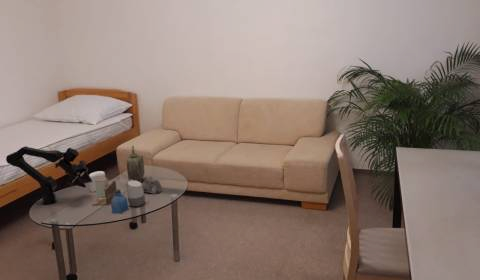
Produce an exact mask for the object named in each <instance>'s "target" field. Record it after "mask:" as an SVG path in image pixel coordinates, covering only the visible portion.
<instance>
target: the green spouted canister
mask: <svg viewBox="0 0 480 280" xmlns="http://www.w3.org/2000/svg"><path fill="white" fill-rule="evenodd" d="M131 152H132V153H131ZM131 152H130V154H129V155H128V156H127V158H126V163H125V164H126V173H127V178H128V180H129V181H132V180H134V181H136V180H142V178H143V177H144V176H145V163H144V157H143V156H142V155H140V154H138V153H136V152H135V146H134V145H132V146H131Z"/></svg>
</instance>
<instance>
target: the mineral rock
mask: <svg viewBox="0 0 480 280" xmlns="http://www.w3.org/2000/svg"><path fill="white" fill-rule="evenodd" d="M141 184H142V188H143V192H144V193H150V194H154V195H157V194H159V193H161V192H162V191H163V189H162V185H161V183H160V181H159V180H158V179H157V178H154V177H153V176H149V177H148V178H146V179H145V180H144V181H143V182H141Z"/></svg>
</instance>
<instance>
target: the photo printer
mask: <svg viewBox="0 0 480 280" xmlns="http://www.w3.org/2000/svg"><path fill="white" fill-rule="evenodd" d="M105 173H106V172H105V171H102V170H100V171H99V170H98V171H94V172H91V173H88V175H89V177H90V178H91V180H92V182H89V181H88V182H89V188H90V189H89V190H90V192H91V193H95V192H96V185H95V181H96V180H97V179H98V178H107V177H106V174H105Z"/></svg>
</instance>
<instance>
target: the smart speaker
mask: <svg viewBox="0 0 480 280" xmlns="http://www.w3.org/2000/svg"><path fill="white" fill-rule="evenodd" d="M127 202H128V205H129V206H131V207H133V208H134V207H135V208H136V207H141V206H142V205H144V204H145V202H146V197H145V192H144V191H143V188H142V182H139V181H138V180H133V179H132V180H129V181H128V182H127Z"/></svg>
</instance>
